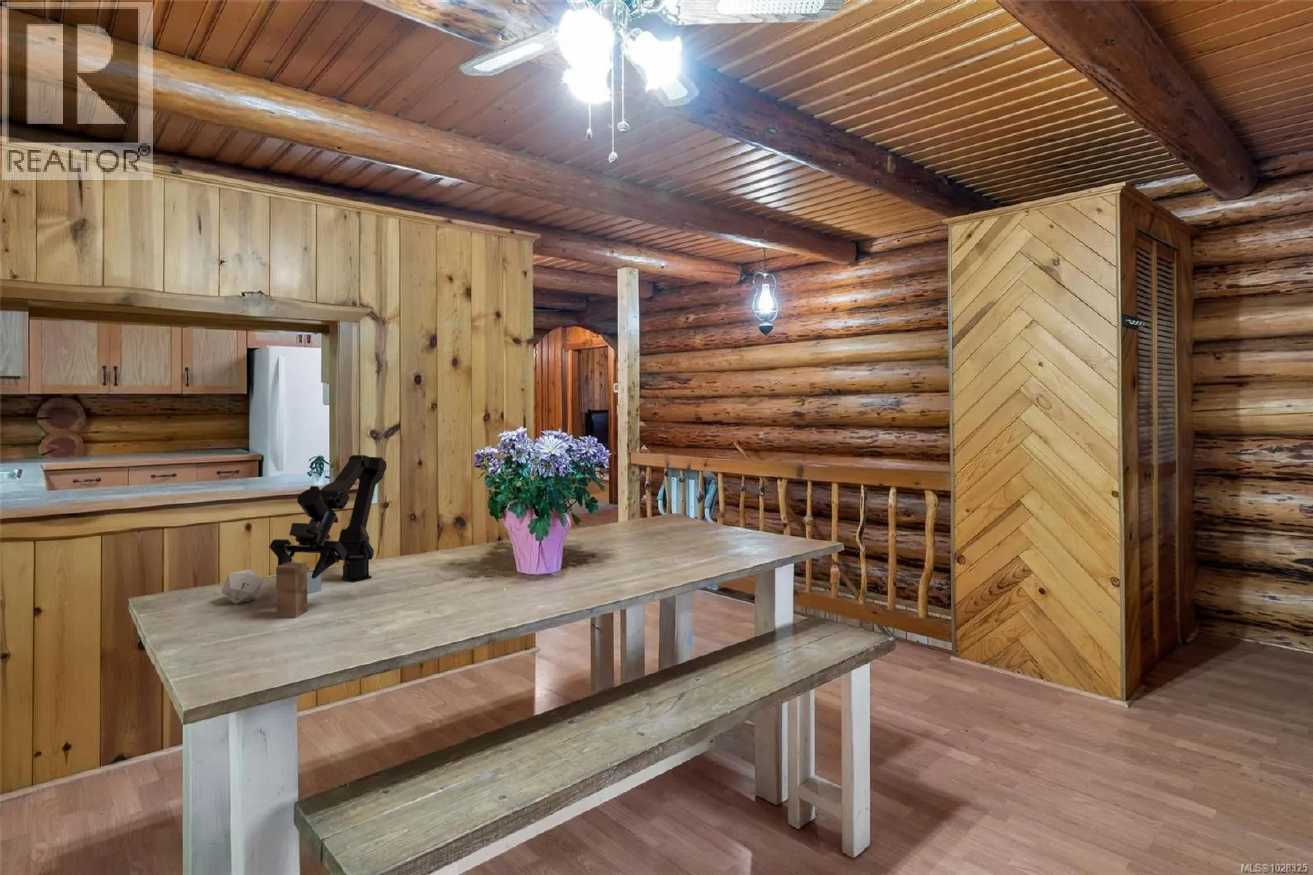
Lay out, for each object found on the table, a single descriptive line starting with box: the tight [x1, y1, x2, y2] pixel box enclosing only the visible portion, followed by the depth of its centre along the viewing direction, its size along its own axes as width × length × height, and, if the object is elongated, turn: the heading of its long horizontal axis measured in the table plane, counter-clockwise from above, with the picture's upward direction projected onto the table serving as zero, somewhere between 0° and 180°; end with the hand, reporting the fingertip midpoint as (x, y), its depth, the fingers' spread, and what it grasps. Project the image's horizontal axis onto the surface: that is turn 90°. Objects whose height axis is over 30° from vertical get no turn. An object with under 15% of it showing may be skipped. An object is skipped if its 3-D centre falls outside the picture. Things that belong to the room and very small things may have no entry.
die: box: [221, 568, 264, 605], centre depth 182 cm, size 8×9×10 cm
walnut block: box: [275, 561, 308, 619], centre depth 171 cm, size 5×5×13 cm
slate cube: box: [307, 571, 322, 596], centre depth 191 cm, size 5×5×5 cm
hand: (295, 577), depth 173 cm, fingers open, 9 cm apart
